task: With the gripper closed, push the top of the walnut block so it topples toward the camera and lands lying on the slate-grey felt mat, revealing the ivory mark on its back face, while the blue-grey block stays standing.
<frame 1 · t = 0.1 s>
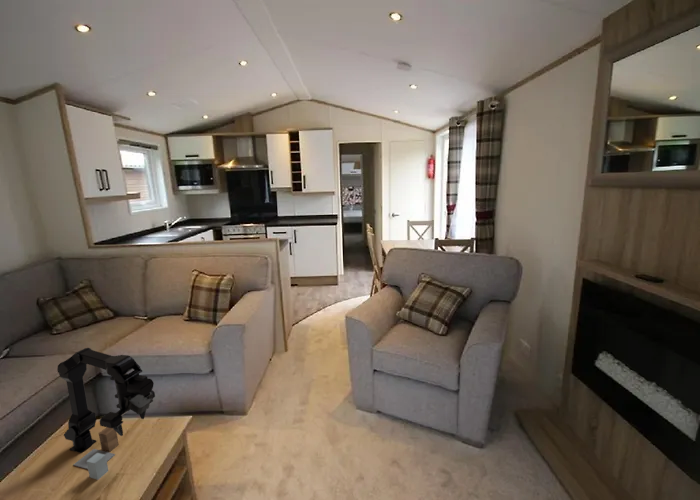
hand: (132, 426, 128), 14 cm above the table, fingers open, 9 cm apart
bluegrey block: (99, 474, 125), on the table
walnut block: (110, 447, 137), on the table
felt mat: (94, 460, 131), on the table
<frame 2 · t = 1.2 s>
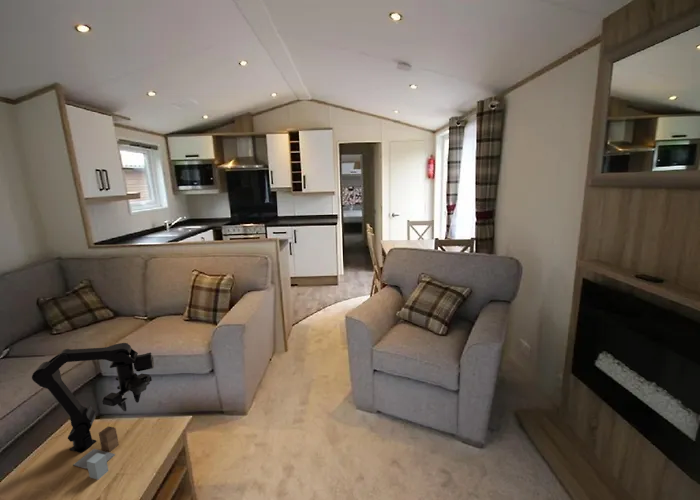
hand: (131, 406, 143), 12 cm above the table, fingers open, 6 cm apart
nothing on the table moved.
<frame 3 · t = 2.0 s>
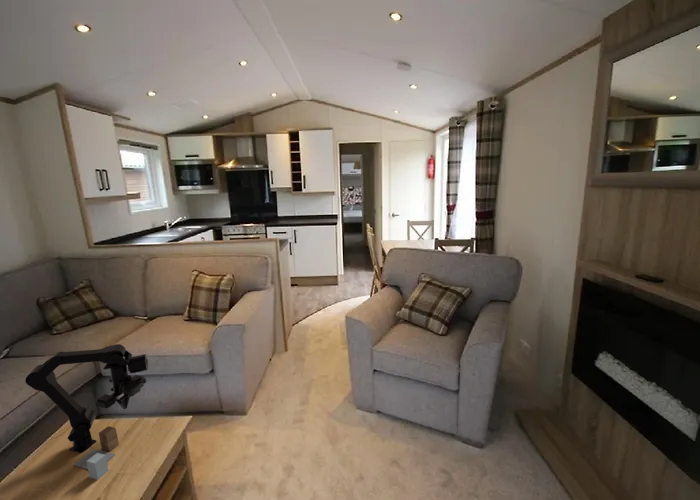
hand: (125, 408, 142), 12 cm above the table, fingers closed
nothing on the table moved.
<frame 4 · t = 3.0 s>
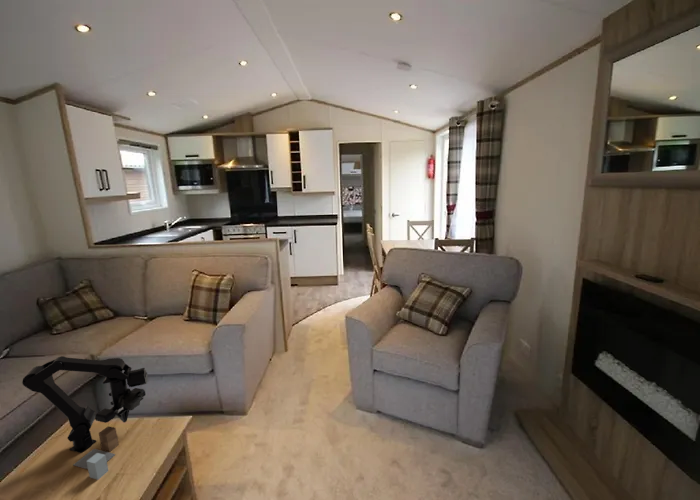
hand: (124, 421, 143), 6 cm above the table, fingers closed
nothing on the table moved.
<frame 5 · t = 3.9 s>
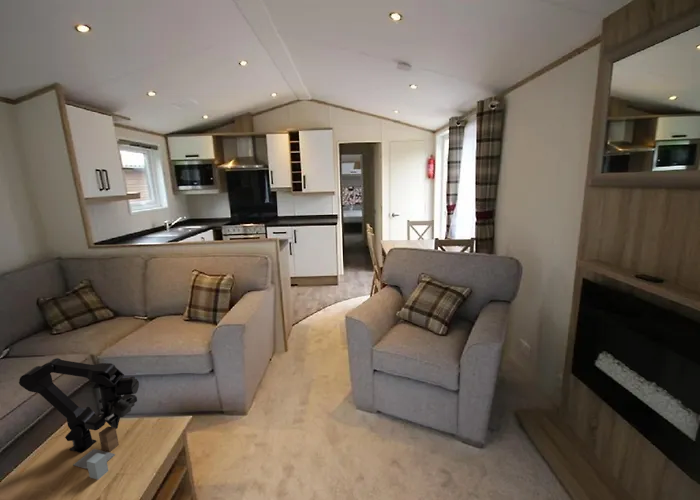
hand: (115, 428, 139), 6 cm above the table, fingers closed
walnut block: (110, 447, 137), on the table, touching gripper
everything else where it was.
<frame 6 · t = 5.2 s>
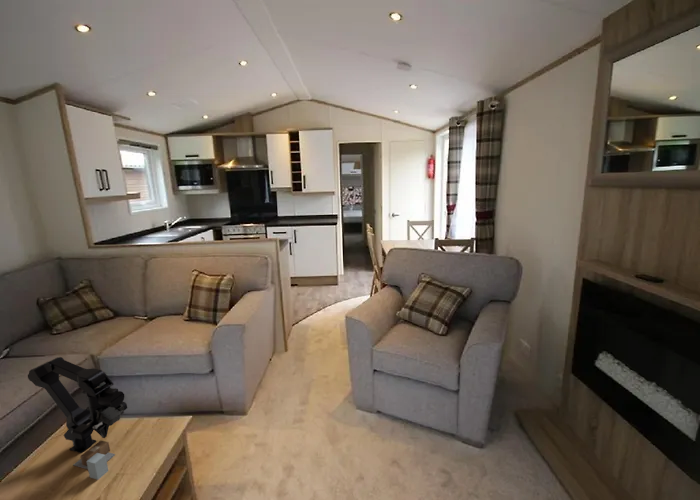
hand: (104, 437, 134), 6 cm above the table, fingers closed
walnut block: (105, 445, 135), point 2 cm above the table, tilted 90°, touching felt mat
everything else where it was.
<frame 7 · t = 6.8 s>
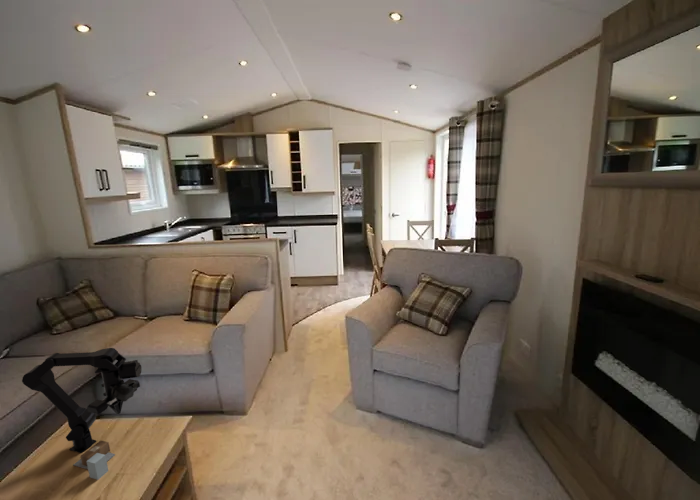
hand: (118, 413, 139), 12 cm above the table, fingers closed
nothing on the table moved.
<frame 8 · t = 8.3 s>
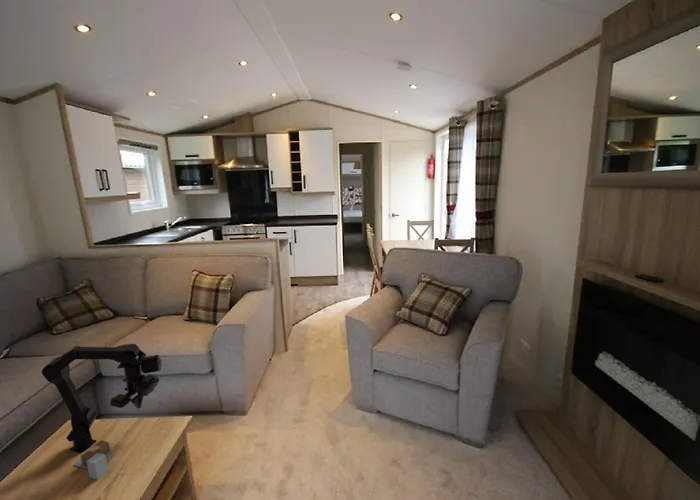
hand: (138, 408, 142), 12 cm above the table, fingers closed
nothing on the table moved.
at the end: walnut block tilted 90°; walnut block inside the target area (2.8 cm from its centre), point 2.4 cm above the table; bluegrey block moved 0.1 cm from its start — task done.
